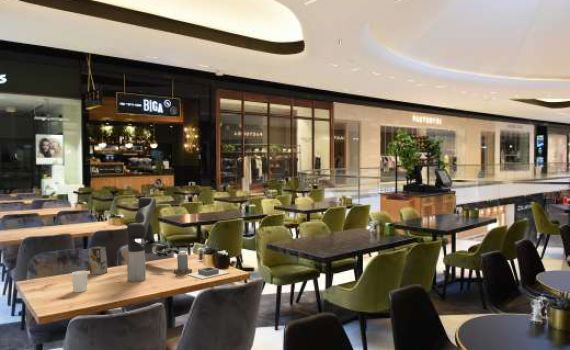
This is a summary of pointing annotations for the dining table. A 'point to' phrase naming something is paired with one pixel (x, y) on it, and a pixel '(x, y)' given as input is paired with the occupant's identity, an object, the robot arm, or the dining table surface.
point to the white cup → (79, 281)
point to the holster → (182, 271)
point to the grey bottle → (182, 261)
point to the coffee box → (98, 260)
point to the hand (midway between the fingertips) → (173, 253)
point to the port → (208, 273)
